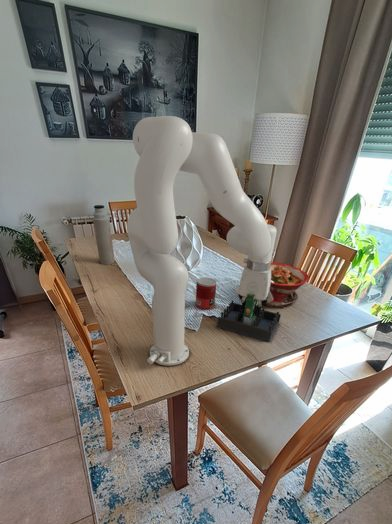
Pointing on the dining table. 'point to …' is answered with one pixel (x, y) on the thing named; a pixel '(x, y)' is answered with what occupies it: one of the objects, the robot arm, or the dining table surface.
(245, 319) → the coffee box
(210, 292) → the canned food
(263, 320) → the rack
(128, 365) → the dining table surface
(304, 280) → the stew
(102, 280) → the dining table surface
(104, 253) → the thermos bottle
